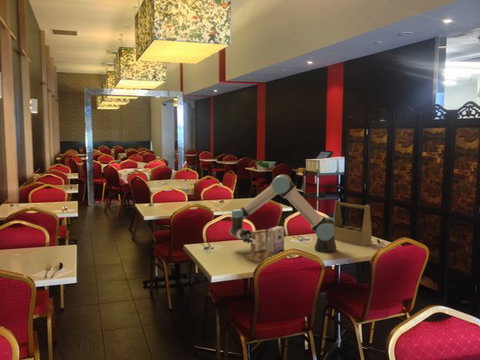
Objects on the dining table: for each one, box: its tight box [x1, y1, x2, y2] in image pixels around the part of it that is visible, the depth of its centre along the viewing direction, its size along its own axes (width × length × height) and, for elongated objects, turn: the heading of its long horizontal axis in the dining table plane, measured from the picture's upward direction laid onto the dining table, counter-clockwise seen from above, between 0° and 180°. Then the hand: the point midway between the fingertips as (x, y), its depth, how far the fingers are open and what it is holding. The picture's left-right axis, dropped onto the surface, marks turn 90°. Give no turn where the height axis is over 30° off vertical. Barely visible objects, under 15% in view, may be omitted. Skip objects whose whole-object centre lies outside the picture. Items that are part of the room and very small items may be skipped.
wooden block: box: [250, 229, 267, 254], centre depth 288 cm, size 10×4×14 cm, turn 120°
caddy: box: [332, 200, 373, 247], centre depth 337 cm, size 29×11×30 cm, turn 37°
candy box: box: [266, 225, 285, 255], centre depth 308 cm, size 14×6×16 cm, turn 145°
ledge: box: [246, 251, 273, 263], centre depth 288 cm, size 14×8×5 cm, turn 120°
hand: (262, 241), depth 284 cm, fingers closed on wooden block, 10 cm apart
